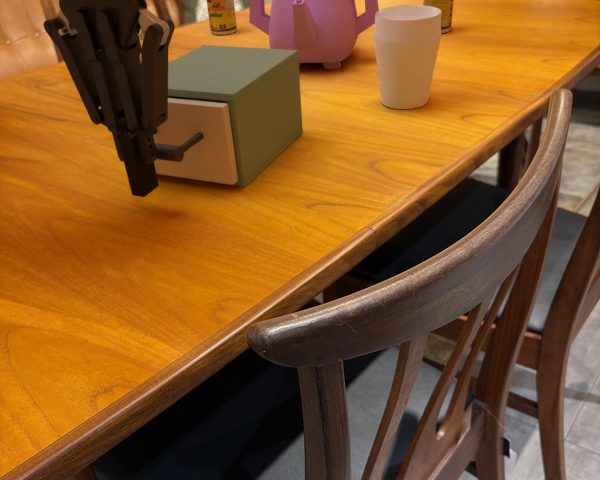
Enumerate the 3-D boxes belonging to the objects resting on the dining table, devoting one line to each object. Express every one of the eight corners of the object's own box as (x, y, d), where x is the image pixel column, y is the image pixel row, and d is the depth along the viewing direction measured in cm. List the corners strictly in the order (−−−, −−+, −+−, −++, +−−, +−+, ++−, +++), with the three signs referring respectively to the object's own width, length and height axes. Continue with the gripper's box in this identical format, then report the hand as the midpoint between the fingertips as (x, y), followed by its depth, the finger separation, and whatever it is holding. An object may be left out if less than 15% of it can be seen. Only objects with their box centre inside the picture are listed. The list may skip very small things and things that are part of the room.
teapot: (325, 39, 119) (322, -49, 110) (390, 57, 107) (393, -41, 97) (242, 62, 110) (231, -32, 101) (302, 84, 98) (295, -21, 89)
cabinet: (245, 187, 70) (233, 94, 63) (146, 172, 74) (126, 85, 68) (302, 133, 82) (297, 50, 75) (214, 123, 86) (203, 44, 80)
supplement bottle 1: (205, 34, 128) (197, -21, 122) (223, 27, 132) (216, -26, 126) (224, 36, 125) (217, -19, 119) (242, 30, 129) (236, -24, 123)
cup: (391, 88, 94) (394, 2, 87) (446, 96, 89) (454, 7, 82) (361, 107, 88) (361, 17, 81) (418, 116, 84) (423, 23, 76)
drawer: (206, 209, 64) (193, 128, 59) (111, 193, 68) (90, 116, 63) (290, 133, 79) (285, 63, 74) (208, 124, 84) (197, 57, 78)
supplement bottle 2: (453, 33, 117) (458, -27, 111) (423, 35, 117) (427, -25, 111) (448, 26, 121) (453, -32, 115) (419, 28, 122) (422, -30, 115)
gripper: (176, -80, 50) (217, 183, 64) (54, -76, 55) (117, 168, 69) (120, -67, 45) (178, 216, 59) (-10, -64, 50) (73, 197, 64)
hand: (145, 190), depth 64 cm, fingers closed
